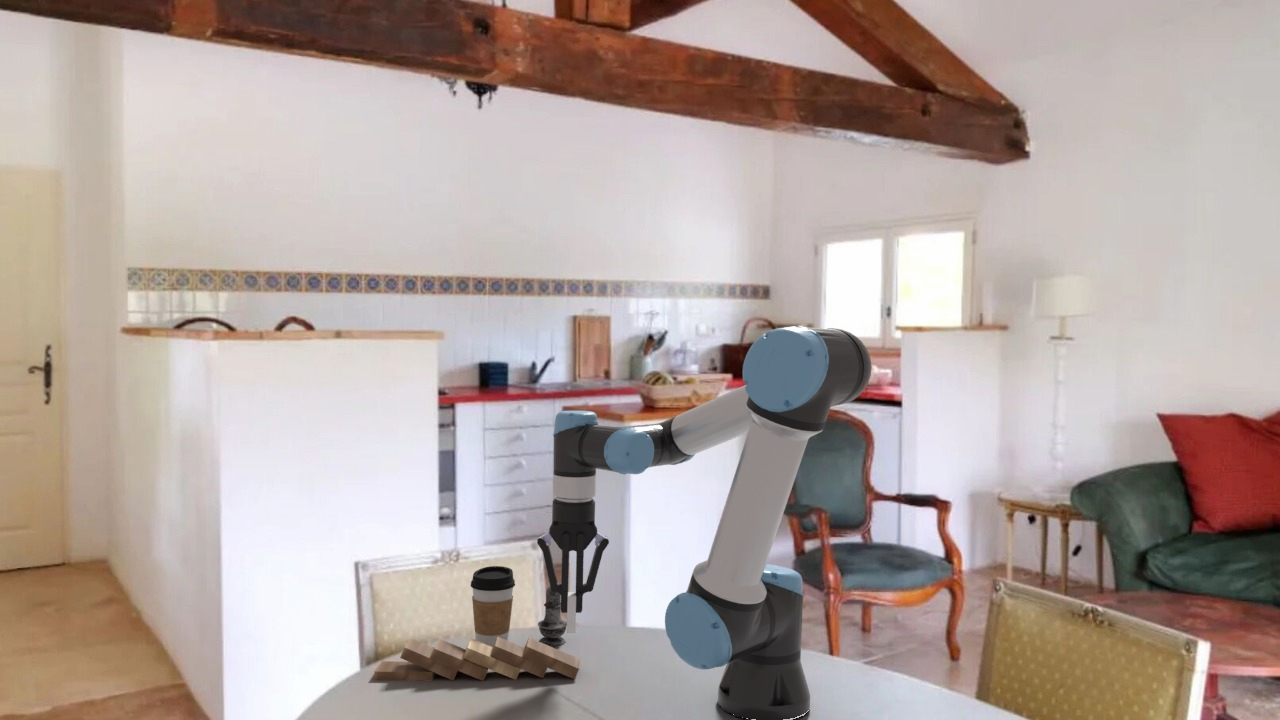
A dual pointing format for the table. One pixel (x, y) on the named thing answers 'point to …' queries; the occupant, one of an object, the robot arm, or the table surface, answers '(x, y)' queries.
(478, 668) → the domino
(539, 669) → the domino
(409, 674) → the domino
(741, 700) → the robot arm
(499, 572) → the coffee cup
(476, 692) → the table surface
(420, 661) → the domino
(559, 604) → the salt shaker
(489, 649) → the oak domino
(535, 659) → the domino
